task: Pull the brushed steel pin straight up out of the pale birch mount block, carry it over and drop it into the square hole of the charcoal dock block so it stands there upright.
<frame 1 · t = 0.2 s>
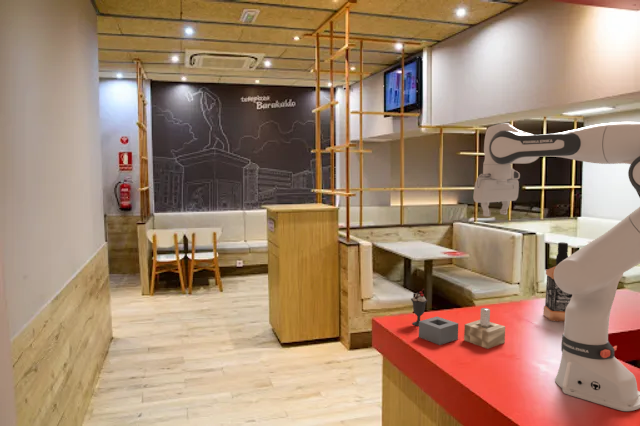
hand: (495, 215, 159), 47 cm above the table, tool pointing down, fingers open, 8 cm apart
whiskey bottle: (559, 318, 201), on the table
mount block: (484, 341, 174), on the table
dock block: (438, 338, 177), on the table
pin: (484, 325, 173), in the mount block
sundae: (418, 324, 193), on the table
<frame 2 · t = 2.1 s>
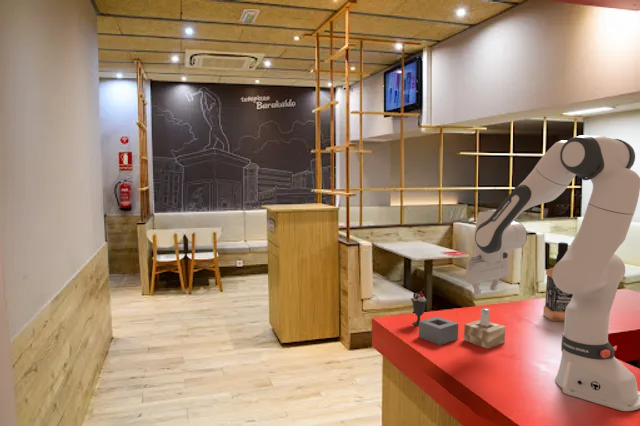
hand: (485, 292, 172), 18 cm above the table, tool pointing down, fingers open, 8 cm apart
nothing on the table moved.
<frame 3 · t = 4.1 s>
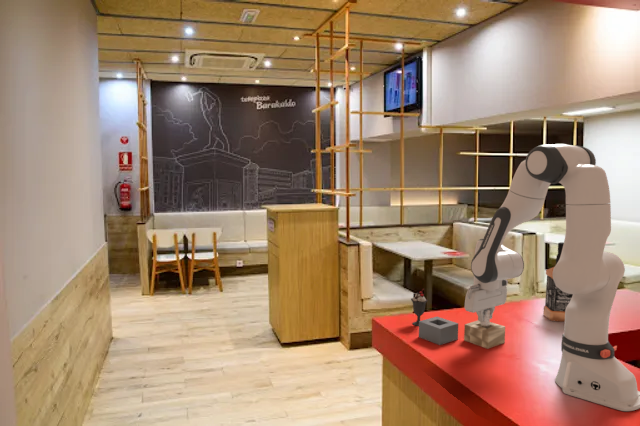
hand: (485, 319, 173), 8 cm above the table, tool pointing down, fingers closed on pin, 3 cm apart
pin: (484, 325, 173), in the mount block, touching gripper
everything else where it was.
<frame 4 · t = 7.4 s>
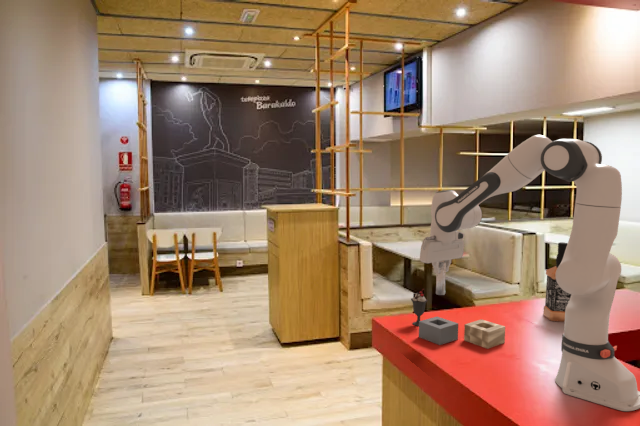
hand: (441, 272, 175), 25 cm above the table, tool pointing down, fingers closed on pin, 3 cm apart
pin: (440, 277, 175), point 23 cm above the table, touching gripper
everything else where it was.
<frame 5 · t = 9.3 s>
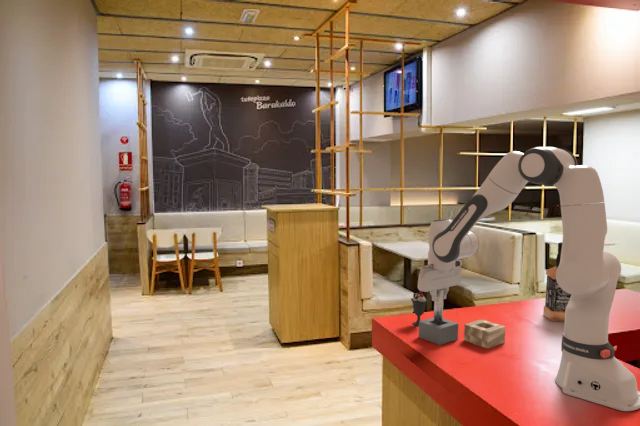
hand: (439, 299, 176), 14 cm above the table, tool pointing down, fingers closed on pin, 3 cm apart
pin: (438, 305, 176), point 12 cm above the table, touching gripper
everything else where it was.
when the fingers open (10 cm above the table, at t = 10.9 s): pin drops 2 cm, resting in dock block.
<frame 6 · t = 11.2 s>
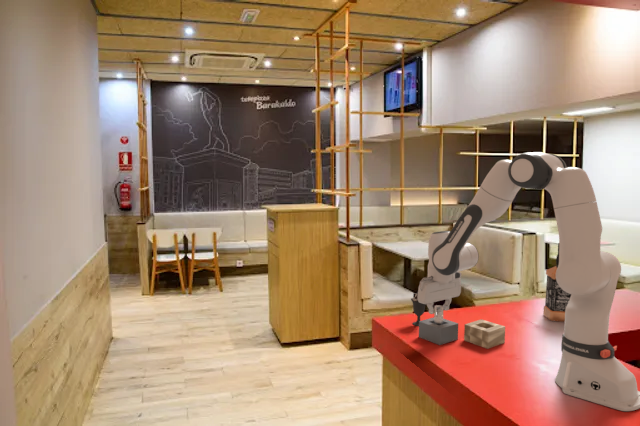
hand: (438, 311, 176), 10 cm above the table, tool pointing down, fingers open, 6 cm apart
pin: (438, 322, 176), in the dock block
everything else where it was.
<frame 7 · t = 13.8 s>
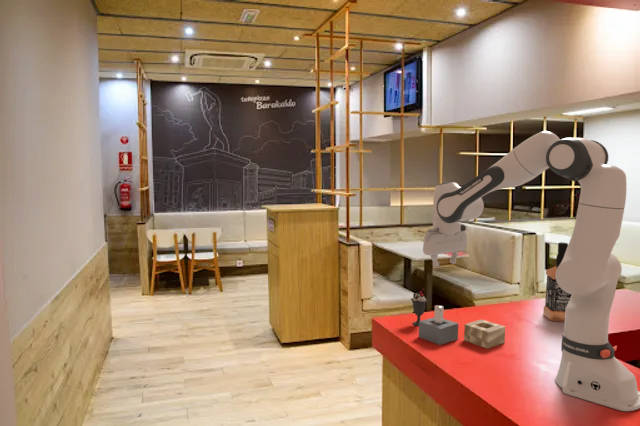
hand: (444, 264, 174), 28 cm above the table, tool pointing down, fingers open, 8 cm apart
nothing on the table moved.
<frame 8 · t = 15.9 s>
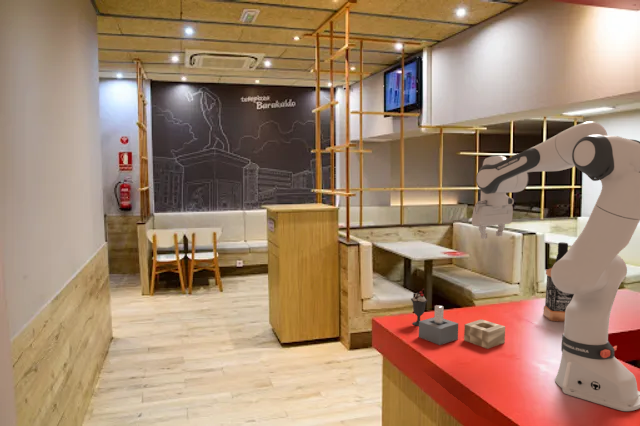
hand: (491, 237, 178), 37 cm above the table, tool pointing down, fingers open, 8 cm apart
nothing on the table moved.
at the end: pin 0.1 cm off-centre on the dock block, point 6.0 cm above the dock block's base; pin tilted 0°; the gripper is holding nothing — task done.
